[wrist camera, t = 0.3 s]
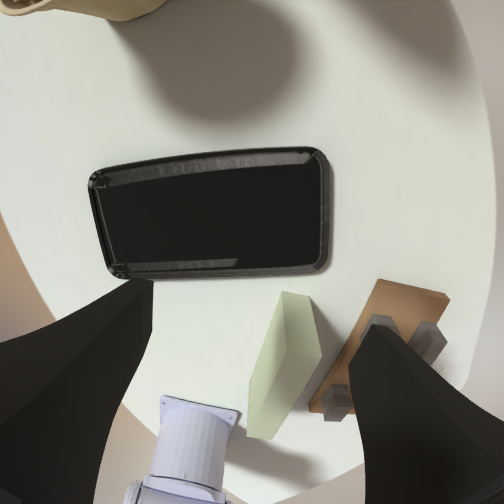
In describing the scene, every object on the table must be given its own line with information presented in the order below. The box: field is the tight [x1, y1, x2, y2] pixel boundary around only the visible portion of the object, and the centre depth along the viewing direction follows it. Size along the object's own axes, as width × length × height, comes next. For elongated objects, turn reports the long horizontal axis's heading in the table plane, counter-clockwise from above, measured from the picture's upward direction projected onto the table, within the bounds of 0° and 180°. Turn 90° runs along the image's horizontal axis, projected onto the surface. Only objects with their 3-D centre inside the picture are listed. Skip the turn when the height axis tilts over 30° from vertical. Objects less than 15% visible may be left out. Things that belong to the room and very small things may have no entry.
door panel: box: [246, 291, 322, 439], centre depth 19 cm, size 10×2×6 cm, turn 167°
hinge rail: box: [308, 279, 450, 422], centre depth 21 cm, size 15×7×4 cm, turn 167°
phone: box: [88, 146, 329, 279], centre depth 17 cm, size 8×1×15 cm
